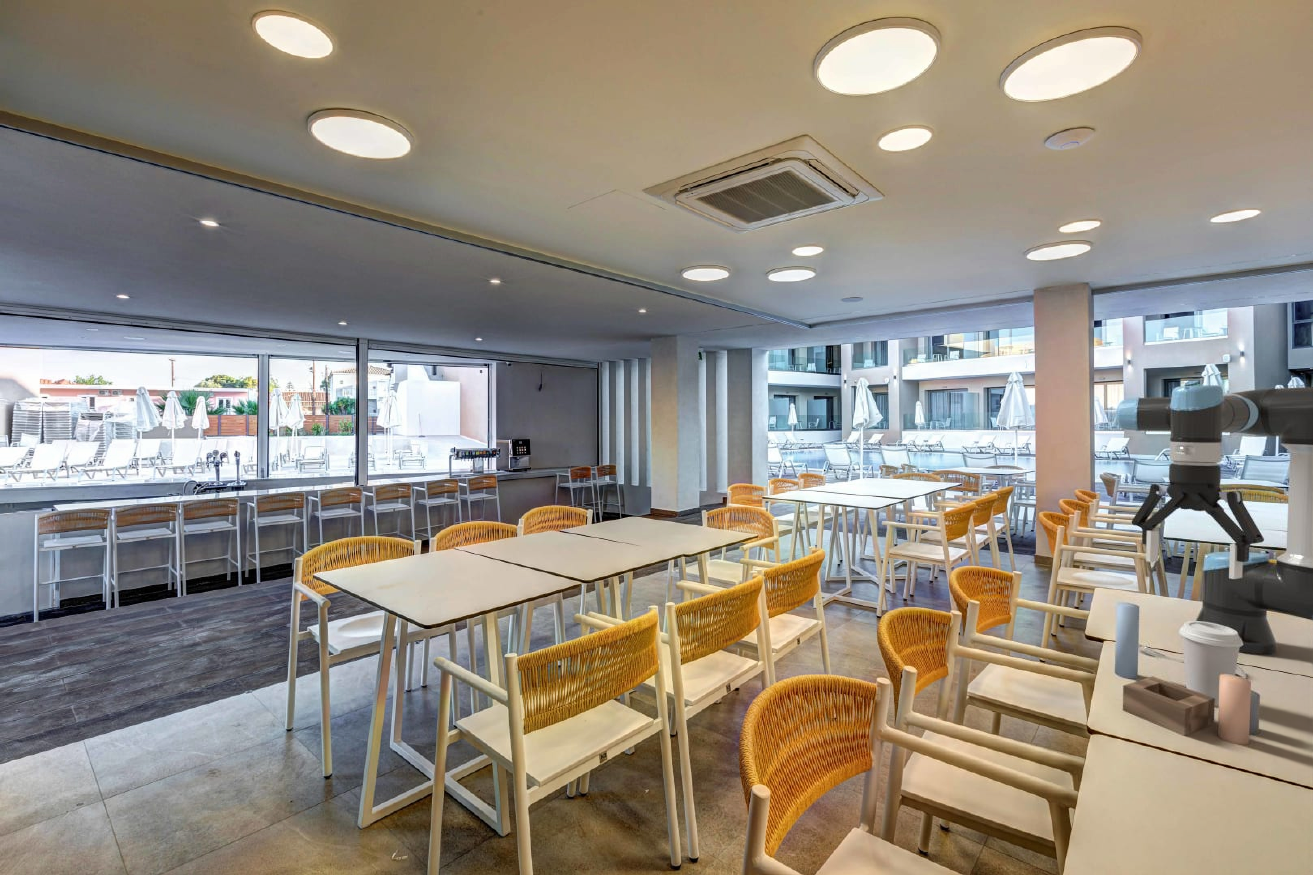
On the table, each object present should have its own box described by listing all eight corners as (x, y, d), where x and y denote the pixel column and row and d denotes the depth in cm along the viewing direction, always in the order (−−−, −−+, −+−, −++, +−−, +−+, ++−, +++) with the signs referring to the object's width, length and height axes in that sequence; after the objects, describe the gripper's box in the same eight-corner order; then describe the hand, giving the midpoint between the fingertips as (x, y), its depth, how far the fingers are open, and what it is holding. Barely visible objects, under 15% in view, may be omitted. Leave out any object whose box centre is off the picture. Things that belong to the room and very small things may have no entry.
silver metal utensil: (1132, 637, 142) (1136, 632, 145) (1130, 651, 143) (1135, 646, 146) (1246, 670, 127) (1249, 664, 130) (1245, 685, 127) (1247, 679, 130)
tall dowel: (1121, 669, 133) (1123, 601, 132) (1141, 676, 129) (1143, 606, 129) (1110, 672, 132) (1112, 603, 131) (1130, 680, 128) (1132, 609, 127)
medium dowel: (1224, 730, 108) (1226, 672, 107) (1253, 741, 104) (1255, 681, 103) (1213, 735, 106) (1214, 676, 106) (1241, 746, 102) (1243, 685, 102)
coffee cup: (1254, 713, 114) (1257, 638, 113) (1197, 708, 115) (1200, 635, 115) (1217, 690, 123) (1220, 620, 122) (1166, 686, 125) (1167, 618, 124)
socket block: (1152, 699, 119) (1152, 676, 119) (1214, 723, 110) (1214, 698, 110) (1122, 710, 115) (1123, 685, 115) (1184, 735, 106) (1185, 709, 106)
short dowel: (1235, 720, 111) (1236, 685, 111) (1263, 731, 107) (1264, 694, 107) (1223, 725, 109) (1224, 689, 109) (1251, 736, 106) (1253, 698, 105)
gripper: (1113, 459, 125) (1111, 556, 126) (1269, 469, 102) (1265, 588, 103) (1135, 458, 128) (1132, 553, 129) (1291, 467, 104) (1287, 583, 105)
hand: (1191, 569), depth 116 cm, fingers open, 13 cm apart
